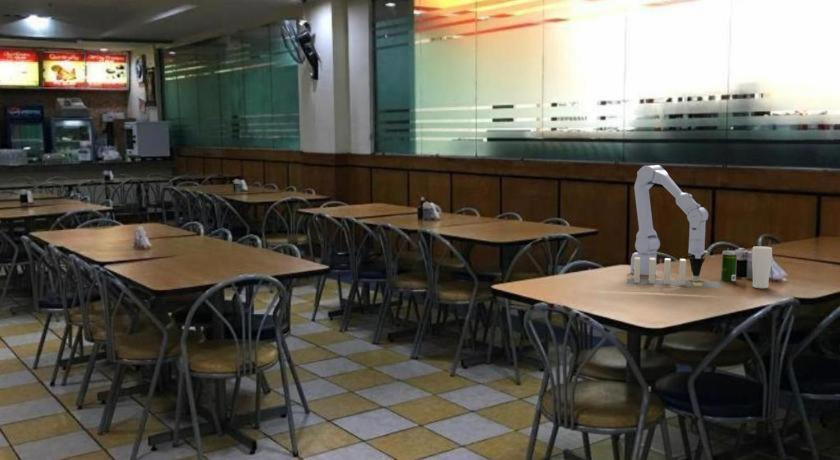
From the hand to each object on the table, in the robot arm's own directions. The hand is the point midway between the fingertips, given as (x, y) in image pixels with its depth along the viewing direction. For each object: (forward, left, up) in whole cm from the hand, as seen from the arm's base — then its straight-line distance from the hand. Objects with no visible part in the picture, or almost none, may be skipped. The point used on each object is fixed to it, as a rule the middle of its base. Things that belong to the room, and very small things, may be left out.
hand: (695, 274), depth 313 cm
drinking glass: (+22, +6, -3) cm, 23 cm away
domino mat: (-3, -12, -3) cm, 13 cm away
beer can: (+9, +8, -3) cm, 13 cm away
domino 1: (-15, -19, -2) cm, 24 cm away
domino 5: (0, 0, -3) cm, 3 cm away
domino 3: (-5, -13, -2) cm, 14 cm away
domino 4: (0, -10, -2) cm, 11 cm away
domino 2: (-10, -16, -2) cm, 19 cm away
